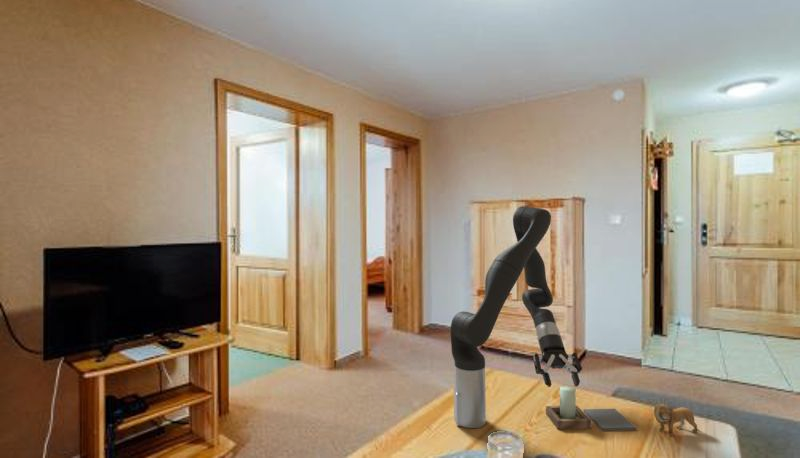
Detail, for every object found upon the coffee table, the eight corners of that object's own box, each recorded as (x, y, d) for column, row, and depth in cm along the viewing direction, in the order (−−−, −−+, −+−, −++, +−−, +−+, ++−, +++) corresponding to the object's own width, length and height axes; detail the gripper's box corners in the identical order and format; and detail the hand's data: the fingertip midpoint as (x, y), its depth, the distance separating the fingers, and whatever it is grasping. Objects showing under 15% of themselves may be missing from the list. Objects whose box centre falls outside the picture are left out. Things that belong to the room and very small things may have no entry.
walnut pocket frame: (558, 429, 121) (557, 421, 121) (545, 413, 131) (545, 406, 131) (591, 428, 121) (591, 420, 121) (576, 413, 131) (576, 405, 131)
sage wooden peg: (563, 424, 124) (563, 391, 124) (557, 418, 128) (557, 385, 128) (578, 424, 124) (577, 391, 124) (571, 417, 128) (571, 385, 128)
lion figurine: (665, 441, 114) (665, 409, 114) (648, 432, 119) (648, 401, 119) (703, 431, 119) (703, 400, 119) (685, 423, 124) (685, 393, 124)
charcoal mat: (602, 430, 120) (602, 428, 120) (583, 411, 132) (583, 409, 132) (636, 430, 120) (636, 427, 120) (614, 411, 132) (614, 408, 132)
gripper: (530, 333, 137) (543, 381, 126) (573, 332, 138) (590, 380, 126) (526, 344, 143) (537, 391, 132) (567, 343, 143) (582, 390, 132)
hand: (563, 385), depth 129 cm, fingers open, 8 cm apart
